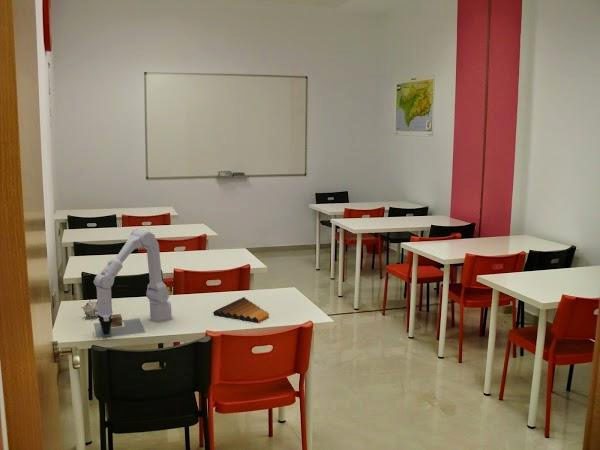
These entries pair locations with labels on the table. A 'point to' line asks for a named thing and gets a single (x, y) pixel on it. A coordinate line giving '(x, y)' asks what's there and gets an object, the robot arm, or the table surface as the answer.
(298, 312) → the table surface
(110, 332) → the teal block
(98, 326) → the board
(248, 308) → the pan flute
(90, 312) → the grey spiky ball
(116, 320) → the walnut block
